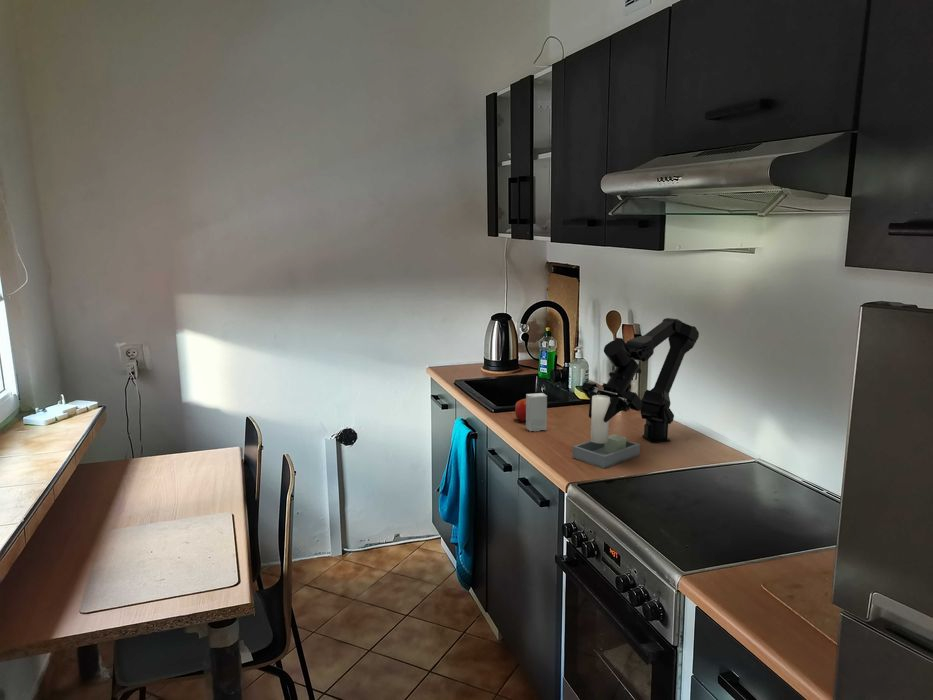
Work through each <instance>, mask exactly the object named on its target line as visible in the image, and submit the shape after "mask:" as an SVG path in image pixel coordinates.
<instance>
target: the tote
mask: <svg viewBox="0 0 933 700" xmlns="http://www.w3.org/2000/svg"><path fill="white" fill-rule="evenodd" d="M610 435H611V434H608V436H610ZM640 451H641V444H640V443H637V442H633V441H630V440H627V439H626V448H624V449H621V450H618V451H615V452H612V453H607V452H604V443H594V442H592V441H591V440H589V441H588V440H587V441H585V442H582V443H578V444H575V445H573V446H572V455H571V456H572V457H573V458H572V457H571V458H572V459H574V458H576V459H575V460H577V459H578V460H577V461H580V460H581V462H583V461H584V463H586V462H587V464H589V465H592V466H595V467H598V468H601V469H608V468H610V467H612V466H615V465H618V464H620V463H621V464H622V463H623V462H626V461H629V460H631V459H634V458H637V457H639V456H640V453H641V452H640Z"/></svg>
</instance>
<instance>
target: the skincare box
mask: <svg viewBox="0 0 933 700" xmlns="http://www.w3.org/2000/svg"><path fill="white" fill-rule="evenodd" d="M525 399H526V422H525V429H526V428H527V429H528V430H529V431H534V432H541V431H540V430H545V431H547V424H548V422H547V418H548V417H547V414H548V410H547V409H548V395H546V394H545V393H543V392H538V393H526V394H525ZM528 430H527V431H528ZM529 431H528V432H529Z"/></svg>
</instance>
